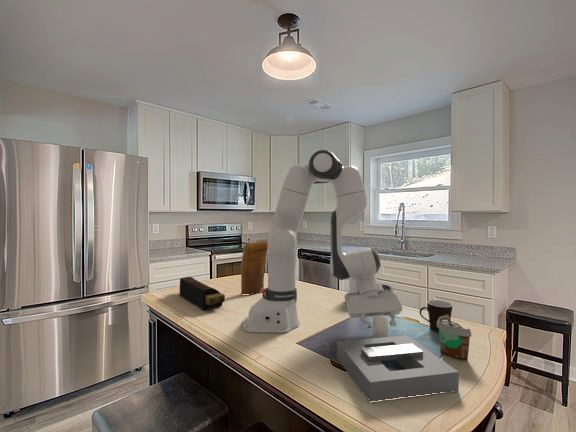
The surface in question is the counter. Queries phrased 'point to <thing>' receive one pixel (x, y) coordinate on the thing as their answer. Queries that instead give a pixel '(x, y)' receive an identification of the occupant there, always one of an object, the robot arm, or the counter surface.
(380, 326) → the tapered cream cylinder
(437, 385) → the gray square frame block
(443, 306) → the coffee mug
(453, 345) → the food container
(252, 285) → the pancake mix bag
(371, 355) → the flat gray rectangular bar
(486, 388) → the counter surface
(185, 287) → the packaged item
